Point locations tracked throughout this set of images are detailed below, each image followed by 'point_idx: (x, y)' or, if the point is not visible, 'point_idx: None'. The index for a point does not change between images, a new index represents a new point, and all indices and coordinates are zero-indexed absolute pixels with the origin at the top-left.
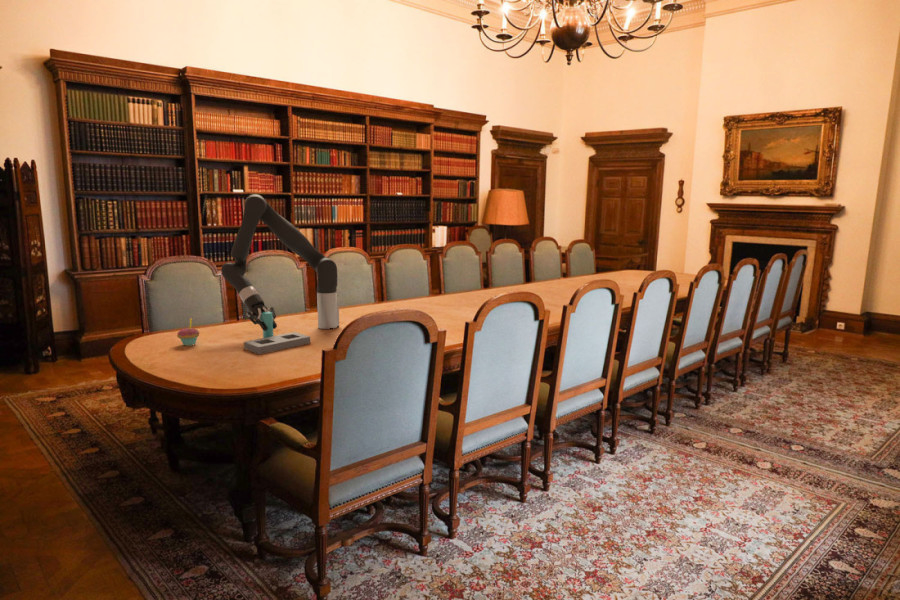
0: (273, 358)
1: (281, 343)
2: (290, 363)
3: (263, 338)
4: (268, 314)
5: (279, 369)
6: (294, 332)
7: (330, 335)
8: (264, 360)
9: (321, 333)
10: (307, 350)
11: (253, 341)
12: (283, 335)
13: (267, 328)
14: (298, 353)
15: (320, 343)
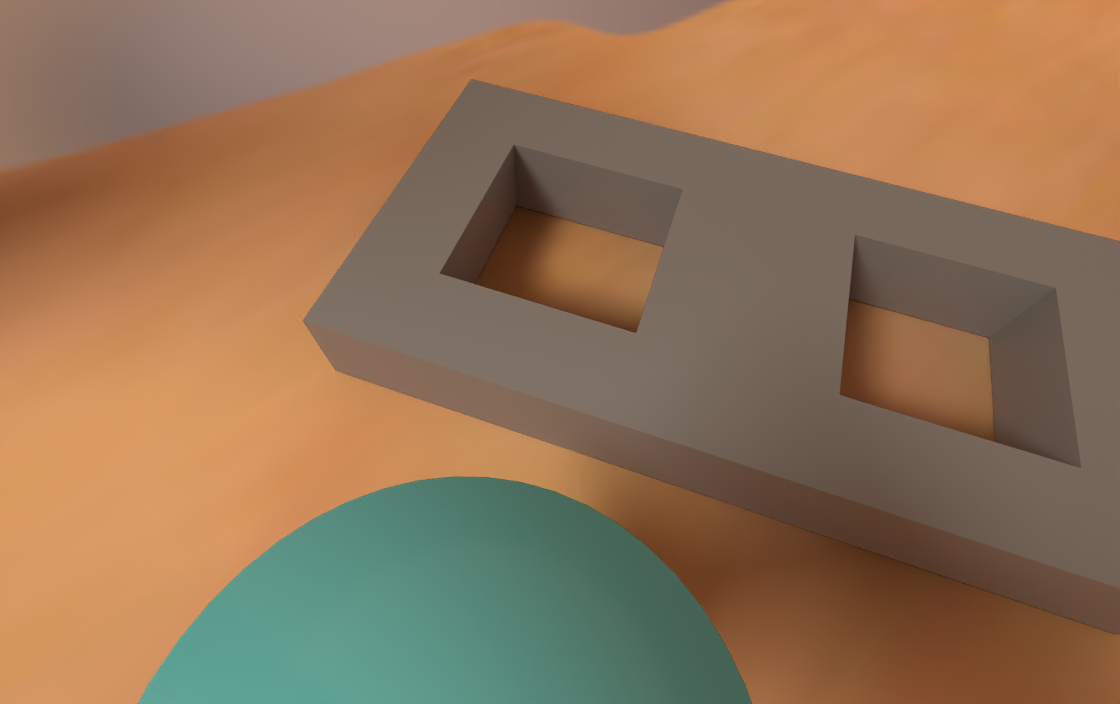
0: (1015, 140)
1: (824, 177)
2: (982, 16)
3: (860, 474)
4: (612, 532)
5: (1106, 8)
6: (337, 306)
7: (111, 144)
8: (1105, 161)
9: (9, 253)
10: (680, 69)
11: (1081, 484)
12: (556, 332)
13: None
14: (785, 78)
15: (443, 87)
